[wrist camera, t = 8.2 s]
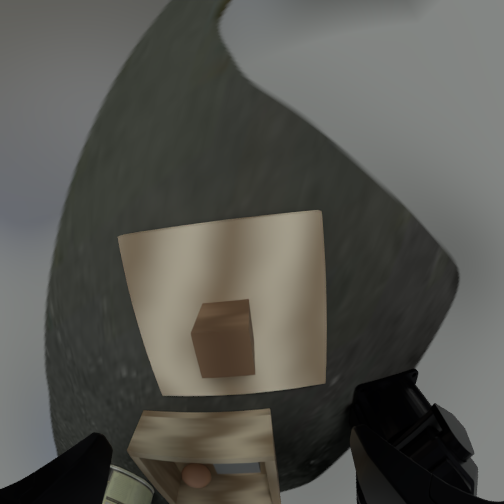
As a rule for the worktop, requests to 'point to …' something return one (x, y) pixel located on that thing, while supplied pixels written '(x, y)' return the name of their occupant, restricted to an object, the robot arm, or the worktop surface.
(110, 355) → the worktop surface
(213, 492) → the box
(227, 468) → the rubber block
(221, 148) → the worktop surface
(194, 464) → the terracotta ball
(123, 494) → the coffee can
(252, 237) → the lid
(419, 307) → the worktop surface
